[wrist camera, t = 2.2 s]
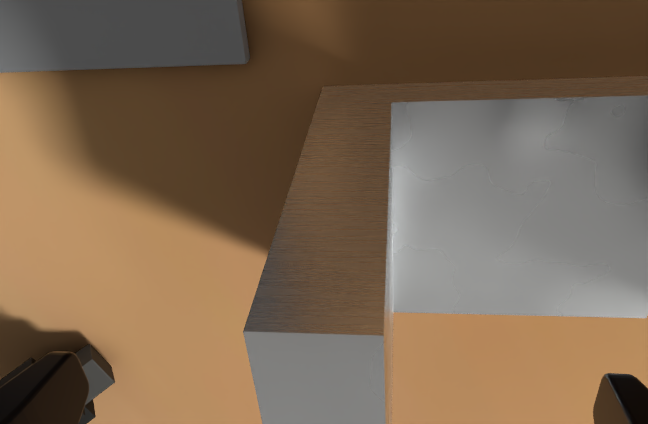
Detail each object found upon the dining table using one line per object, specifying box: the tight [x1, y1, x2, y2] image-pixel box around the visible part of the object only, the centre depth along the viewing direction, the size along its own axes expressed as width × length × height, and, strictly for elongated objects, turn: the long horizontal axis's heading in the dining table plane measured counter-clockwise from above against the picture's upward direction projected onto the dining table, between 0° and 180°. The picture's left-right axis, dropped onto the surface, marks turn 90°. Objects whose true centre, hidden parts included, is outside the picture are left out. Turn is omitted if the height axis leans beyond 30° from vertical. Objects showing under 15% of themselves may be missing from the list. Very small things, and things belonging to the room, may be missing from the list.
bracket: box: [243, 76, 648, 424], centre depth 11 cm, size 8×6×8 cm
